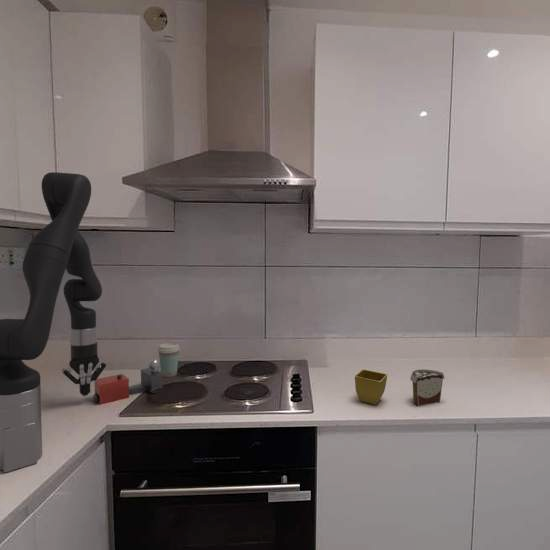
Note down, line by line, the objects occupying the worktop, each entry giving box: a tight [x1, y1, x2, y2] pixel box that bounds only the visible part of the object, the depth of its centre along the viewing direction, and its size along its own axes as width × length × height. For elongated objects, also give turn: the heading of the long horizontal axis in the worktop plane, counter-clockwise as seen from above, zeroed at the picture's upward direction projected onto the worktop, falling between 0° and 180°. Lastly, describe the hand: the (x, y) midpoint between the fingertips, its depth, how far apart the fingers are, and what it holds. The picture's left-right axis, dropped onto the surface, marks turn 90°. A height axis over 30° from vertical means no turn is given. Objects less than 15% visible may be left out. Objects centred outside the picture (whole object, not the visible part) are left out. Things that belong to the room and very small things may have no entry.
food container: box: [410, 369, 445, 407], centre depth 121 cm, size 12×6×10 cm, turn 111°
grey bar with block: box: [92, 358, 164, 404], centre depth 123 cm, size 10×22×11 cm, turn 130°
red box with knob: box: [94, 373, 130, 406], centre depth 120 cm, size 6×9×7 cm
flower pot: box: [354, 369, 388, 405], centre depth 120 cm, size 9×9×9 cm
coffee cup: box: [157, 342, 181, 378], centre depth 143 cm, size 8×8×12 cm
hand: (85, 394), depth 115 cm, fingers closed
